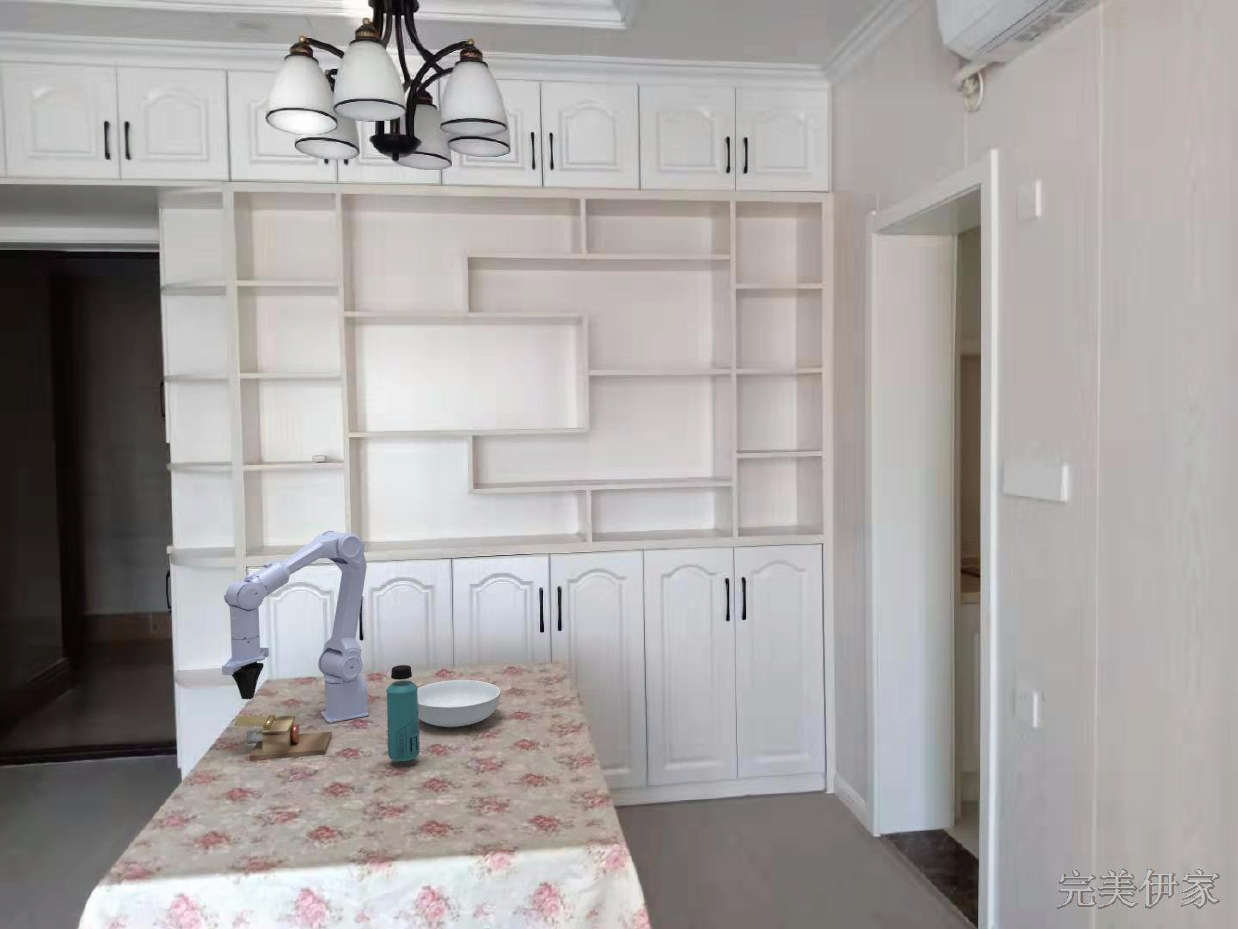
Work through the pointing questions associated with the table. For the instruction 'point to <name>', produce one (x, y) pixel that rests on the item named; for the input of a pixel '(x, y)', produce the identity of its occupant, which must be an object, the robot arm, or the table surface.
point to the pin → (256, 735)
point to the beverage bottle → (402, 716)
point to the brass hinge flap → (253, 720)
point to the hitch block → (288, 741)
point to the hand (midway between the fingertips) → (247, 698)
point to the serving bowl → (457, 702)
